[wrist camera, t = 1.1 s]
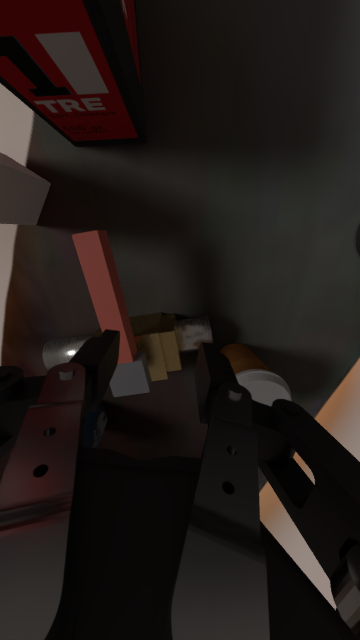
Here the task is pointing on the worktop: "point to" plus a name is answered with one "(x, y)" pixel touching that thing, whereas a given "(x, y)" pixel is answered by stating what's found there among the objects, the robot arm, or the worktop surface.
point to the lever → (112, 311)
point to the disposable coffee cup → (255, 375)
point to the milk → (20, 193)
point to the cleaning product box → (76, 66)
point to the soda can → (95, 427)
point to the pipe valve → (145, 342)
